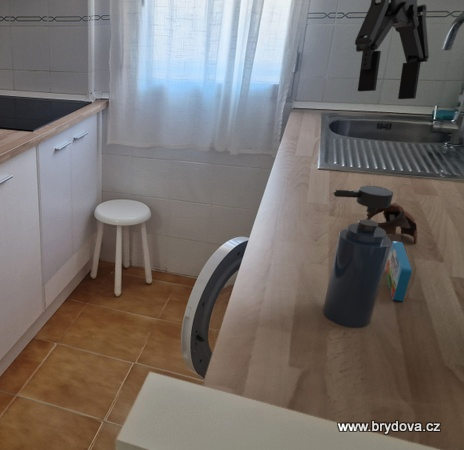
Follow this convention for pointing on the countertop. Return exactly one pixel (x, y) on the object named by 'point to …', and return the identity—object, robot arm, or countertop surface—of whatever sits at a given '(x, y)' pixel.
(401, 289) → the flat blue box
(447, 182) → the countertop surface
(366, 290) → the dispenser
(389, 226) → the brown arched figure
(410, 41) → the robot arm
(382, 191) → the pump head
